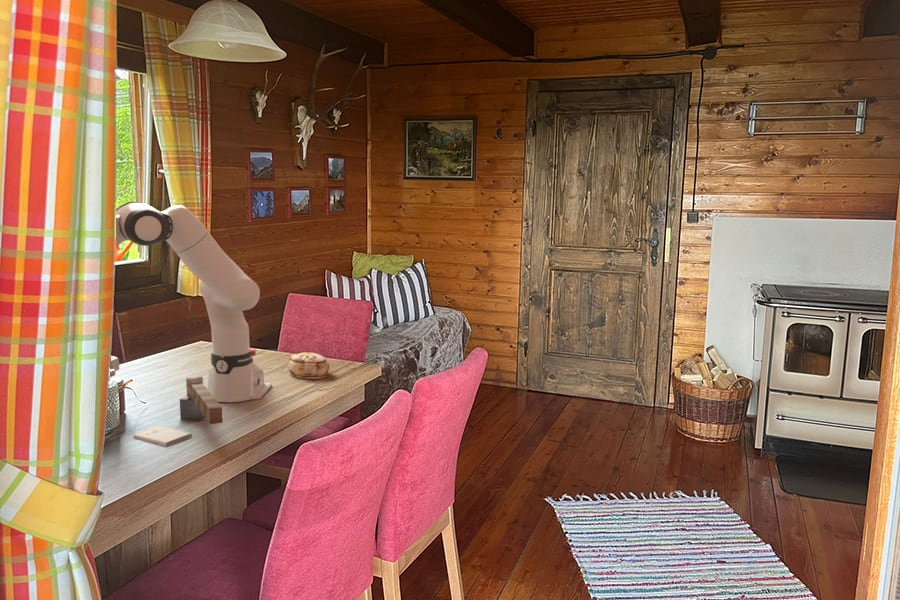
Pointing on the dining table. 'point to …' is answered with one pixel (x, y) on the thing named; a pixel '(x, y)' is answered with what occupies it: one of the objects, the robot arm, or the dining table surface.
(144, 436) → the external hard drive
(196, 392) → the walnut swing arm
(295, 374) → the trinket box
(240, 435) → the dining table surface
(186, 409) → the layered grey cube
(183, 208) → the robot arm
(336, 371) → the dining table surface
